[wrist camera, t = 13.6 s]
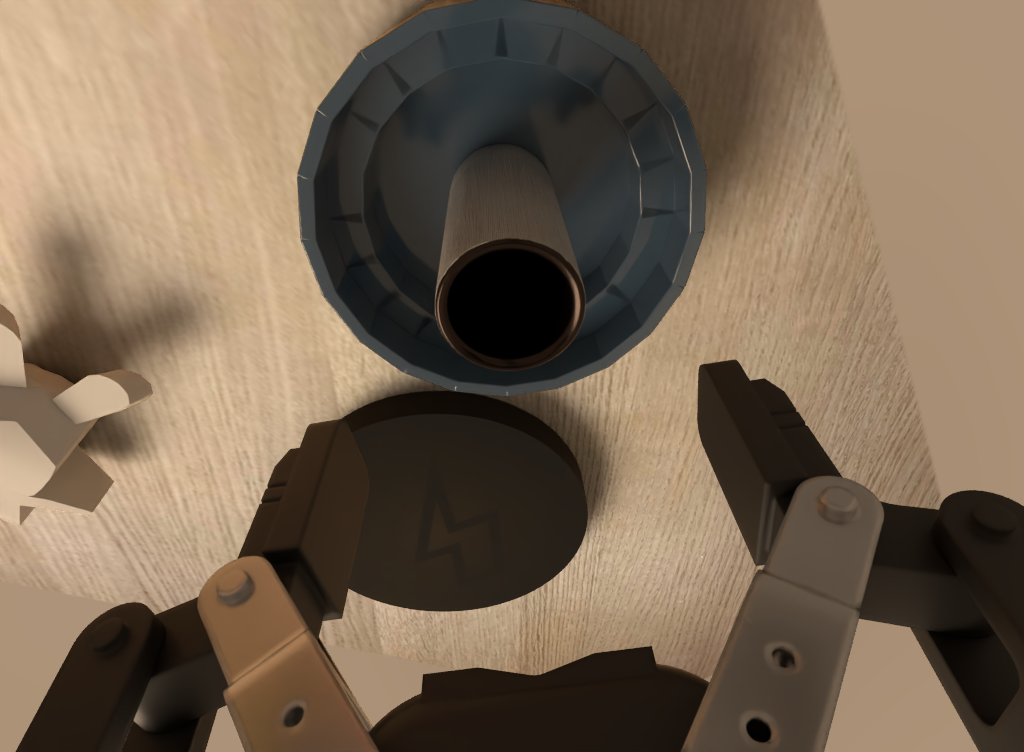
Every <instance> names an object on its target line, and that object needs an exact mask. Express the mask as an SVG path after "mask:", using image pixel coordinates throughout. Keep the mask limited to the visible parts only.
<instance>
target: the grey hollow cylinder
mask: <svg viewBox="0 0 1024 752" xmlns="http://www.w3.org/2000/svg"><path fill="white" fill-rule="evenodd" d="M585 310H586V295H585V289H584V285H583V282H582V278H581V275H580V272H579V268H578V265H577V262H576V259H575V255H574V252H573V249H572V246H571V242H570V239H569V236H568V232H567V229H566V226H565V223H564V219H563V216H562V213H561V210H560V206H559V203H558V200H557V197H556V193H555V190H554V187H553V184H552V181H551V178H550V176H549V174H548V172H547V170H546V168H545V167H544V165H543V164H542V163H541V162H540V160H539V159H538V158H537V157H536V156H534V155H533V154H532V153H530V152H529V151H527V150H525V149H523V148H521V147H518V146H515V145H509V144H494V145H489V146H486V147H483V148H481V149H479V150H477V151H475V152H473V153H472V154H470V155H469V156H468V157H467V158H466V159H465V160H464V161H463V162H462V163H461V165H460V166H459V168H458V169H457V171H456V173H455V175H454V178H453V181H452V184H451V188H450V194H449V201H448V208H447V215H446V222H445V229H444V236H443V244H442V251H441V258H440V265H439V272H438V279H437V286H436V294H435V315H436V320H437V323H438V326H439V329H440V331H441V333H442V335H443V336H444V338H445V340H446V341H447V342H448V344H449V345H450V346H451V347H452V348H453V349H454V350H455V351H456V352H457V353H458V354H459V355H461V356H462V357H464V358H465V359H467V360H468V361H470V362H472V363H474V364H476V365H479V366H482V367H485V368H488V369H492V370H499V371H519V370H525V369H530V368H533V367H537V366H539V365H542V364H544V363H546V362H548V361H550V360H552V359H553V358H555V357H556V356H558V355H559V354H560V353H561V352H563V351H564V350H565V349H566V348H567V347H568V346H569V345H570V343H571V342H572V341H573V340H574V338H575V337H576V335H577V334H578V332H579V330H580V328H581V325H582V323H583V320H584V316H585Z"/></svg>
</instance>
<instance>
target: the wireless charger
mask: <svg viewBox="0 0 1024 752" xmlns="http://www.w3.org/2000/svg"><path fill="white" fill-rule="evenodd" d="M343 419H344V420H345V421H346V422H347V424H348V425H349V428H350V430H351V432H352V435H353V437H354V439H355V441H356V444H357V446H358V448H359V451H360V453H361V455H362V458H363V460H364V462H365V465H366V467H367V471H368V476H369V494H368V499H367V503H366V508H365V513H364V517H363V522H362V527H361V531H360V536H359V541H358V545H357V550H356V555H355V560H354V564H353V569H352V574H351V578H350V583H349V589H351V590H353V591H354V592H357V593H359V594H361V595H363V596H365V597H368V598H371V599H373V600H376V601H379V602H382V603H386V604H389V605H393V606H398V607H402V608H408V609H415V610H424V611H464V610H473V609H479V608H485V607H490V606H494V605H498V604H501V603H505V602H508V601H511V600H513V599H516V598H519V597H521V596H523V595H526V594H528V593H530V592H532V591H534V590H536V589H537V588H539V587H541V586H542V585H544V584H545V583H547V582H548V581H550V580H551V579H552V578H554V577H555V576H556V575H557V574H558V573H560V572H561V571H562V570H563V569H564V568H565V567H566V566H567V565H568V563H569V562H570V561H571V560H572V558H573V557H574V555H575V554H576V553H577V551H578V549H579V547H580V545H581V543H582V541H583V538H584V535H585V532H586V527H587V519H588V510H587V503H586V497H585V492H584V486H583V481H582V476H581V472H580V469H579V466H578V464H577V461H576V459H575V457H574V456H573V454H572V452H571V451H570V449H569V448H568V446H567V445H566V444H565V442H564V441H563V440H562V439H561V438H560V437H559V436H558V435H557V434H556V433H555V432H554V431H553V430H552V429H551V428H550V427H549V426H547V425H546V424H545V423H543V422H542V421H541V420H539V419H538V418H536V417H534V416H533V415H531V414H529V413H528V412H526V411H524V410H522V409H520V408H518V407H515V406H513V405H510V404H508V403H505V402H502V401H499V400H496V399H493V398H489V397H485V396H480V395H476V394H469V393H462V392H450V391H429V392H417V393H409V394H403V395H398V396H394V397H390V398H386V399H383V400H380V401H377V402H374V403H371V404H369V405H366V406H364V407H362V408H360V409H358V410H356V411H354V412H352V413H351V414H349V415H347V416H345V417H344V418H343Z"/></svg>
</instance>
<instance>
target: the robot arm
mask: <svg viewBox="0 0 1024 752" xmlns="http://www.w3.org/2000/svg"><path fill="white" fill-rule="evenodd" d="M697 421H698V429H699V434H700V438H701V442H702V445H703V447H704V449H705V452H706V454H707V456H708V458H709V461H710V463H711V465H712V468H713V470H714V472H715V474H716V477H717V479H718V481H719V483H720V486H721V488H722V490H723V493H724V495H725V497H726V499H727V502H728V504H729V506H730V508H731V511H732V513H733V515H734V518H735V520H736V522H737V524H738V527H739V529H740V531H741V533H742V536H743V538H744V540H745V543H746V545H747V547H748V549H749V552H750V554H751V556H752V558H753V561H754V563H755V565H756V566H759V565H765V566H764V568H763V570H760V569H759V570H758V571H757V572H756V574H755V576H754V578H753V580H752V583H751V585H750V587H749V590H748V592H747V594H746V597H745V599H744V602H743V604H742V606H741V609H740V611H739V614H738V616H737V618H736V621H735V623H734V626H733V628H732V630H731V633H730V635H729V638H728V640H727V642H726V645H725V647H724V650H723V652H722V654H721V657H720V659H719V662H718V664H717V666H716V669H715V671H714V674H713V676H712V678H711V681H710V682H708V681H706V680H704V679H702V678H700V677H699V676H697V675H694V674H692V673H689V672H687V671H684V670H682V669H678V668H674V667H671V666H667V665H661V664H656V662H655V658H654V654H653V650H652V646H649V647H641V648H633V649H625V650H617V651H609V652H601V653H594V654H591V655H589V656H586V657H584V658H581V659H579V660H576V661H574V662H571V663H569V664H566V665H564V666H561V667H559V668H556V669H554V670H551V671H549V672H546V673H544V674H541V675H535V676H534V675H525V674H518V673H511V672H505V671H498V670H491V669H484V668H471V669H463V670H455V671H447V672H439V673H431V674H423V682H422V693H421V694H419V695H417V696H414V697H412V698H411V699H409V700H407V701H405V702H404V703H402V704H400V705H399V706H397V707H396V708H395V709H393V710H392V711H390V712H389V713H388V714H387V715H386V716H384V717H383V718H382V719H381V720H380V721H379V722H378V723H377V724H376V725H375V726H374V727H373V726H372V724H371V723H370V721H369V720H368V718H367V716H366V715H365V713H364V712H363V710H362V708H361V707H360V705H359V704H358V702H357V700H356V698H355V697H354V695H353V694H352V692H351V690H350V689H349V687H348V685H347V683H346V682H345V680H344V678H343V677H342V675H341V673H340V672H339V670H338V668H337V667H336V665H335V663H334V662H333V660H332V658H331V656H330V655H329V653H328V652H327V650H326V648H325V646H324V645H323V643H322V641H321V640H320V638H319V633H320V629H321V625H322V621H327V620H334V619H342V616H343V611H344V606H345V602H346V597H347V592H348V588H349V583H350V578H351V574H352V569H353V564H354V560H355V555H356V550H357V545H358V541H359V536H360V531H361V527H362V522H363V517H364V513H365V508H366V503H367V499H368V494H369V476H368V471H367V467H366V465H365V462H364V460H363V458H362V455H361V453H360V451H359V448H358V446H357V444H356V441H355V439H354V437H353V435H352V432H351V430H350V428H349V425H348V424H347V422H346V421H345V420H344V419H339V420H332V421H326V422H319V423H313V424H310V425H309V426H308V428H307V430H306V433H305V435H304V438H303V441H302V443H301V446H300V448H295V449H290V450H289V451H288V452H287V454H286V455H285V456H284V457H283V458H282V459H281V460H280V462H279V463H278V464H277V465H276V466H275V468H274V470H273V473H272V475H271V478H270V480H269V483H268V489H266V490H265V492H264V495H263V497H262V500H261V501H262V504H260V505H259V507H258V510H257V512H256V515H255V517H254V519H253V522H252V524H251V527H250V529H249V532H248V534H247V537H246V539H245V542H244V544H243V547H242V549H241V552H240V554H239V556H238V559H236V560H234V561H231V562H229V563H228V564H226V565H224V566H223V567H221V568H220V569H219V570H217V571H216V572H215V573H214V574H213V575H212V576H211V577H210V578H209V579H208V580H207V582H206V583H205V584H204V586H203V588H202V589H201V591H200V594H199V597H197V598H195V599H193V600H190V601H188V602H185V603H183V604H181V605H178V606H176V607H173V608H171V609H168V610H166V611H164V612H161V613H159V614H156V615H155V614H154V613H153V612H152V611H151V610H150V609H149V608H148V607H147V606H146V605H144V604H142V603H136V602H132V603H126V604H122V605H119V606H117V607H114V608H112V609H110V610H108V611H107V612H105V613H103V614H102V615H100V616H99V617H98V618H96V619H95V620H94V621H93V622H92V623H90V624H89V625H88V626H87V627H86V628H85V629H84V630H83V631H82V633H81V634H80V635H79V636H78V638H77V639H76V641H75V642H74V644H73V646H72V648H71V650H70V651H69V653H68V655H67V657H66V659H65V661H64V663H63V664H62V666H61V668H60V670H59V672H58V674H57V676H56V677H55V679H54V681H53V683H52V685H51V687H50V689H49V690H48V692H47V694H46V696H45V698H44V700H43V702H42V703H41V705H40V707H39V709H38V711H37V713H36V715H35V717H34V719H33V721H32V722H31V724H30V726H29V728H28V730H27V731H26V733H25V735H24V737H23V739H22V741H21V743H20V745H19V746H18V748H17V750H16V752H205V750H206V747H207V743H208V740H209V737H210V733H211V730H212V727H213V723H214V720H215V716H216V713H217V710H218V709H219V708H221V707H223V706H225V705H227V707H228V709H229V712H230V715H231V717H232V719H233V722H234V725H235V727H236V730H237V732H238V735H239V738H240V740H241V743H242V745H243V748H244V750H245V752H824V750H825V746H826V742H827V739H828V735H829V731H830V727H831V723H832V720H833V716H834V711H835V708H836V704H837V700H838V697H839V693H840V689H841V684H842V681H843V677H844V674H845V670H846V666H847V662H848V658H849V654H850V651H851V647H852V643H853V639H854V635H855V632H856V628H857V624H858V620H859V619H865V620H871V621H877V622H883V623H889V624H894V625H900V626H906V627H910V628H911V630H912V632H913V633H914V635H915V637H916V639H917V641H918V642H919V644H920V646H921V647H922V649H923V651H924V653H925V655H926V657H927V658H928V660H929V662H930V664H931V666H932V668H933V669H934V671H935V673H936V675H937V676H938V678H939V680H940V682H941V684H942V686H943V687H944V689H945V691H946V693H947V695H948V696H949V698H950V700H951V702H952V703H953V705H954V707H955V709H956V711H957V713H958V714H959V716H960V718H961V720H962V722H963V723H964V725H965V727H966V729H967V731H968V732H969V734H970V736H971V738H972V740H973V741H974V743H975V745H976V747H977V749H978V750H979V752H1024V506H1022V505H1020V504H1019V503H1017V502H1015V501H1013V500H1011V499H1009V498H1006V497H1004V496H1001V495H997V494H994V493H990V492H984V491H976V490H969V491H960V492H957V493H953V494H951V495H949V496H948V497H947V498H945V499H944V500H943V502H942V504H941V506H940V508H939V510H936V509H927V508H918V507H909V506H900V505H894V504H888V503H884V502H881V501H879V499H878V498H877V497H876V496H875V495H874V494H873V493H872V492H871V491H870V490H869V489H867V488H866V487H864V486H863V485H861V484H859V483H857V482H855V481H852V480H849V479H846V478H843V477H842V476H841V475H840V473H839V472H838V470H837V469H836V467H835V466H834V464H833V463H832V461H831V460H830V458H829V457H828V455H827V454H826V452H825V451H824V449H823V448H822V447H821V445H820V444H819V442H818V441H817V439H816V438H815V436H814V435H813V433H812V432H811V430H810V429H809V427H808V426H806V425H805V421H804V420H803V418H802V417H801V416H800V414H799V413H798V412H796V408H795V407H794V405H793V404H792V402H791V401H790V399H789V398H788V396H787V395H786V393H785V392H784V391H783V390H781V389H780V388H778V387H777V386H775V385H774V384H772V383H771V382H769V381H768V380H766V379H758V380H751V381H750V380H749V378H748V377H747V375H746V373H745V372H744V370H743V369H742V367H741V365H740V364H739V362H738V361H737V360H729V361H722V362H716V363H709V364H703V365H700V367H699V374H698V412H697ZM131 725H132V726H131ZM129 730H130V731H129ZM127 735H128V736H127ZM122 747H123V748H122Z"/></svg>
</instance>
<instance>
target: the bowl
mask: <svg viewBox="0 0 1024 752" xmlns="http://www.w3.org/2000/svg"><path fill="white" fill-rule="evenodd" d="M494 144H509V145H515V146H518V147H521V148H523V149H525V150H527V151H529V152H530V153H532V154H533V155H534V156H536V157H537V158H538V159H539V160H540V162H541V163H542V164H543V165H544V167H545V168H546V170H547V172H548V174H549V176H550V178H551V181H552V184H553V187H554V190H555V193H556V197H557V200H558V203H559V206H560V210H561V213H562V216H563V219H564V223H565V226H566V229H567V232H568V236H569V239H570V242H571V246H572V249H573V252H574V255H575V259H576V262H577V265H578V268H579V272H580V275H581V278H582V282H583V285H584V289H585V295H586V310H585V316H584V320H583V323H582V325H581V328H580V330H579V332H578V334H577V335H576V337H575V338H574V340H573V341H572V342H571V343H570V345H569V346H568V347H567V348H566V349H565V350H564V351H563V352H561V353H560V354H559V355H558V356H556V357H555V358H553V359H552V360H550V361H548V362H546V363H544V364H542V365H539V366H537V367H533V368H530V369H525V370H519V371H499V370H492V369H488V368H485V367H482V366H479V365H476V364H474V363H472V362H470V361H468V360H467V359H465V358H464V357H462V356H461V355H459V354H458V353H457V352H456V351H455V350H454V349H453V348H452V347H451V346H450V345H449V344H448V342H447V341H446V340H445V338H444V336H443V335H442V333H441V331H440V329H439V326H438V323H437V320H436V315H435V294H436V286H437V279H438V272H439V265H440V258H441V251H442V244H443V236H444V229H445V222H446V215H447V208H448V201H449V194H450V188H451V184H452V181H453V178H454V175H455V173H456V171H457V169H458V168H459V166H460V165H461V163H462V162H463V161H464V160H465V159H466V158H467V157H468V156H469V155H470V154H472V153H473V152H475V151H477V150H479V149H481V148H483V147H486V146H489V145H494ZM706 177H707V170H706V164H705V161H704V158H703V155H702V152H701V149H700V145H699V142H698V139H697V136H696V133H695V130H694V126H693V123H692V120H691V117H690V114H689V110H688V107H687V106H686V104H685V102H684V100H683V99H682V98H681V97H680V95H679V94H678V93H677V91H676V90H675V89H674V87H673V86H672V85H671V84H670V82H669V81H668V80H667V78H666V77H665V76H664V74H663V73H662V72H661V71H660V69H659V68H658V67H657V65H656V64H655V63H654V62H653V60H652V59H651V58H650V56H649V55H648V54H647V52H646V51H645V50H644V49H642V47H641V46H639V45H637V44H636V43H634V42H633V41H631V40H629V39H628V38H626V37H624V36H623V35H621V34H619V33H618V32H616V31H615V30H613V29H611V28H610V27H608V26H606V25H605V24H603V23H601V22H600V21H598V20H597V19H595V18H593V17H592V16H590V15H588V14H587V13H585V12H583V11H582V10H580V9H578V8H576V7H575V6H573V5H571V4H569V3H567V2H564V1H562V0H438V1H435V2H432V3H430V4H429V5H427V6H426V7H424V8H423V9H421V10H419V11H418V12H416V13H415V14H413V15H412V16H410V17H408V18H407V19H405V20H404V21H402V22H401V23H399V24H397V25H396V26H394V27H393V28H391V29H389V30H388V31H386V32H385V33H383V34H382V35H380V36H379V37H378V38H376V39H375V40H374V41H372V42H371V43H370V44H368V45H367V46H366V47H365V48H363V49H362V50H361V51H360V52H359V53H358V54H357V55H356V57H355V58H354V59H353V61H352V62H351V63H350V65H349V66H348V67H347V69H346V70H345V71H344V73H343V74H342V76H341V77H340V78H339V80H338V81H337V82H336V84H335V85H334V86H333V88H332V89H331V90H330V92H329V93H328V94H327V96H326V97H325V98H324V100H323V101H322V102H321V104H320V105H319V106H318V108H317V111H316V112H315V115H314V119H313V122H312V126H311V129H310V132H309V136H308V139H307V143H306V146H305V149H304V153H303V156H302V160H301V163H300V167H299V170H298V176H297V185H298V203H299V221H300V238H301V242H302V245H303V247H304V250H305V252H306V255H307V258H308V260H309V263H310V265H311V268H312V270H313V273H314V275H315V278H316V280H317V283H318V285H319V288H320V290H321V293H322V295H323V296H324V298H325V299H326V301H327V302H328V303H329V304H330V306H331V307H332V308H333V309H334V311H335V312H336V313H337V314H338V316H339V317H340V318H341V319H342V321H343V322H344V323H345V324H346V326H347V327H348V328H349V329H350V331H351V332H352V333H353V334H354V336H355V337H356V338H357V339H358V340H359V342H361V343H362V344H364V345H365V346H366V347H368V348H369V349H371V350H372V351H373V352H375V353H376V354H378V355H379V356H380V357H382V358H383V359H385V360H386V361H388V362H389V363H390V364H392V365H393V366H395V367H396V368H397V369H399V370H400V371H402V372H404V373H406V374H409V375H411V376H414V377H417V378H419V379H422V380H425V381H428V382H430V383H433V384H436V385H438V386H441V387H444V388H447V389H449V390H452V391H456V392H466V393H477V394H487V395H497V396H512V395H519V394H525V393H532V392H538V391H545V390H551V389H558V388H561V387H563V386H566V385H568V384H570V383H573V382H575V381H577V380H580V379H582V378H584V377H587V376H589V375H591V374H594V373H596V372H598V371H601V370H603V369H605V368H607V367H609V366H611V365H612V364H613V363H615V362H616V361H617V360H618V359H620V358H621V357H622V356H623V355H625V354H626V353H627V352H629V351H630V350H631V349H632V348H634V347H635V346H636V345H637V344H639V343H640V342H641V341H643V340H644V339H645V338H646V337H648V336H649V335H650V334H651V333H652V332H653V330H654V329H655V328H656V326H657V325H658V324H659V322H660V321H661V320H662V318H663V317H664V315H665V314H666V313H667V311H668V310H669V309H670V307H671V306H672V305H673V303H674V302H675V300H676V299H677V298H678V296H679V295H680V294H681V292H682V291H683V289H684V287H685V286H686V283H687V280H688V277H689V275H690V272H691V269H692V266H693V263H694V261H695V258H696V255H697V252H698V249H699V246H700V244H701V241H702V238H703V235H704V231H705V212H706Z"/></svg>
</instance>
